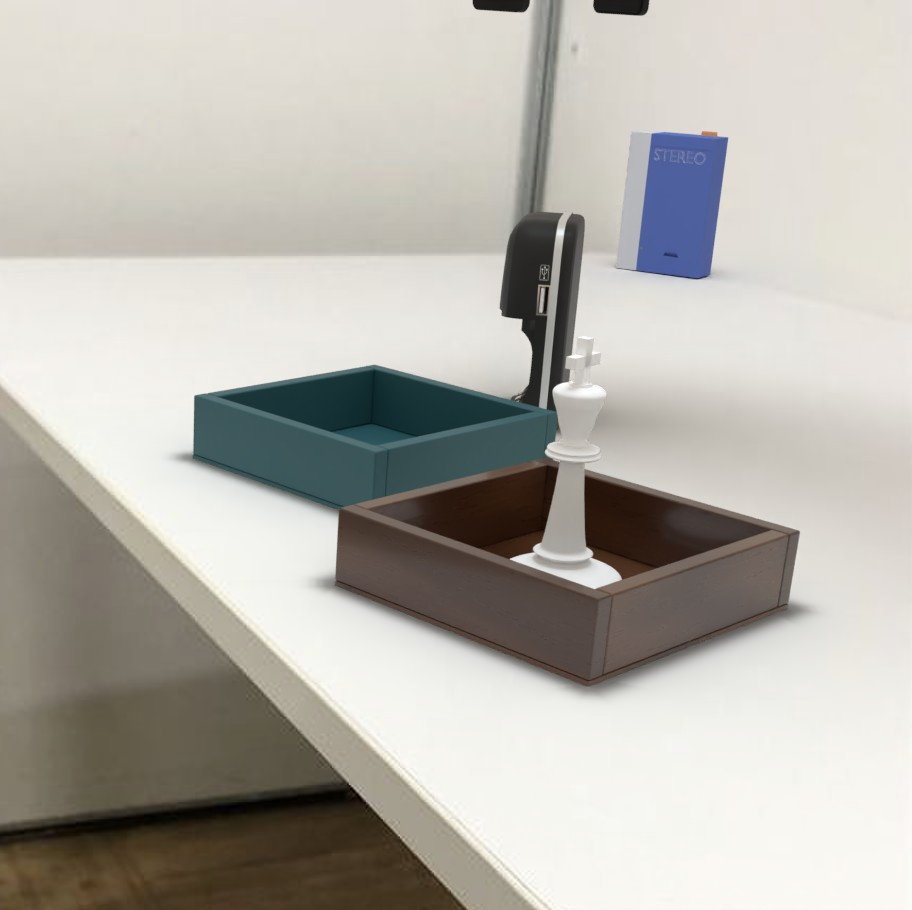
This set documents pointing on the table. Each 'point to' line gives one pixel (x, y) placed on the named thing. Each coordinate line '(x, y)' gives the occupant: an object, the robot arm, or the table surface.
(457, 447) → the teal tray
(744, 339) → the table surface
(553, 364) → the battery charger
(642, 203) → the walkman
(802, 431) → the table surface
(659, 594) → the walnut tray
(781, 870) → the table surface
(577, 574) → the chess piece
